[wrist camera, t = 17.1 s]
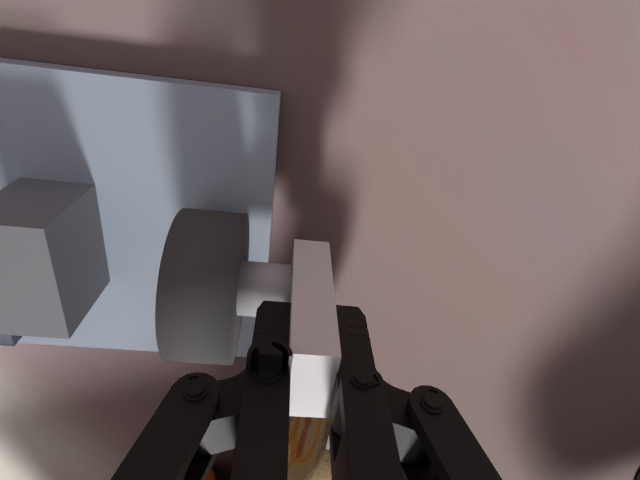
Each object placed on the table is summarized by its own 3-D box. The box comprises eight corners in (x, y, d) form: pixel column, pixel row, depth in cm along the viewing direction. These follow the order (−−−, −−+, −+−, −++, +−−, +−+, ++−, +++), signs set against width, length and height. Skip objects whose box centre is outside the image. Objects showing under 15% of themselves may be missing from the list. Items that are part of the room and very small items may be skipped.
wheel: (297, 194, 18) (295, 272, 13) (286, 303, 21) (280, 402, 16) (194, 184, 18) (148, 260, 12) (198, 296, 21) (161, 396, 15)
